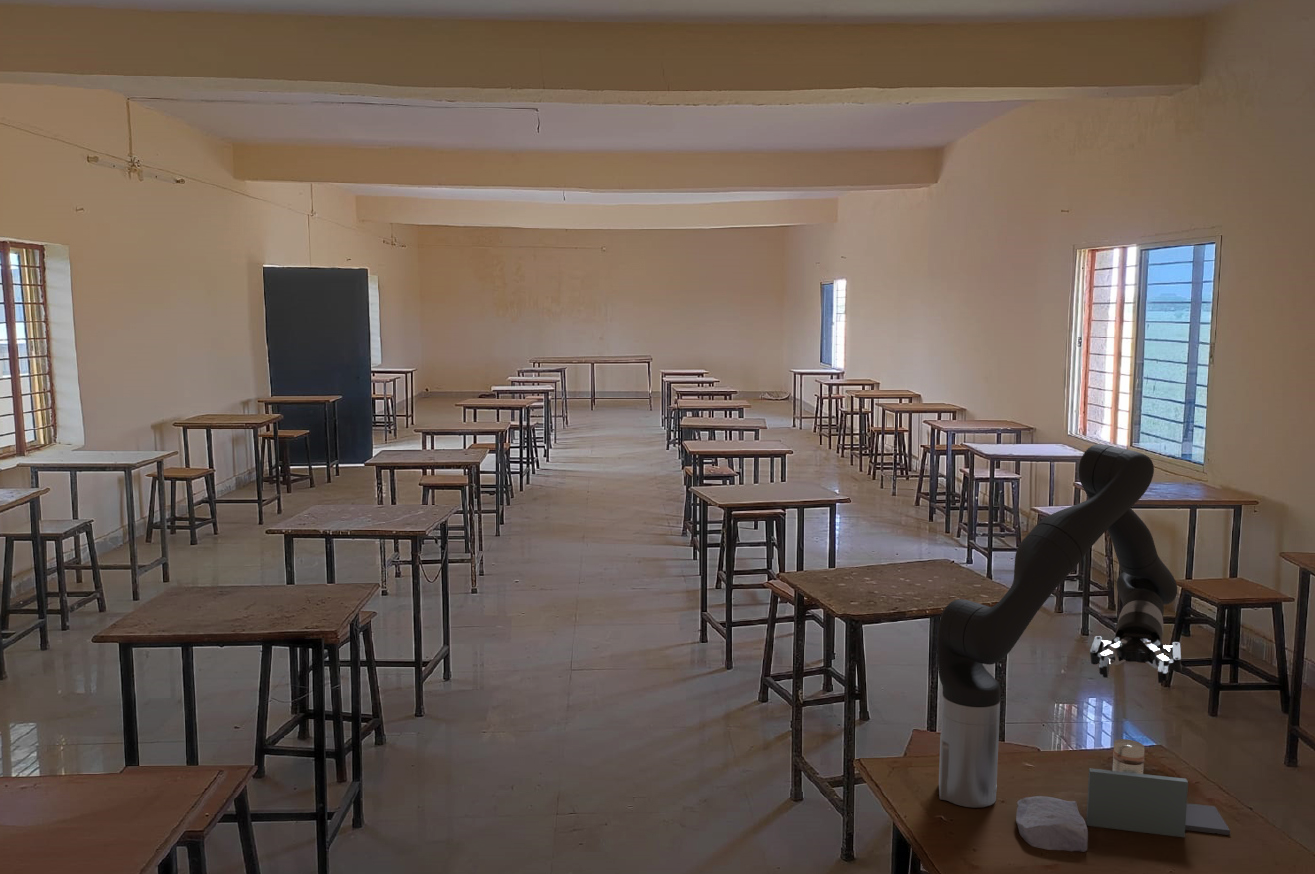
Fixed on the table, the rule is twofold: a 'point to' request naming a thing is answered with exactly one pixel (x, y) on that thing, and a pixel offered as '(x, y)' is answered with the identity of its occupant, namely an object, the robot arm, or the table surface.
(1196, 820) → the dark rubber mat
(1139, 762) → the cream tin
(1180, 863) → the table surface
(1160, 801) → the slate screen
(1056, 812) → the stone block
